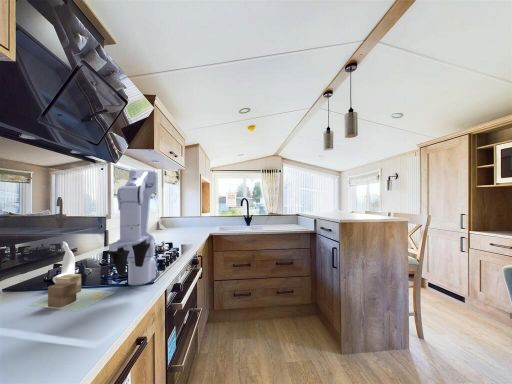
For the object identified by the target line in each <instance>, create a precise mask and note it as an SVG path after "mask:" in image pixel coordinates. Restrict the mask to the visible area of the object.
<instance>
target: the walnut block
mask: <svg viewBox="0 0 512 384" xmlns="http://www.w3.org/2000/svg"><path fill="white" fill-rule="evenodd" d="M76 285H77V282H65V281H64V282H61V283H58V284H55V283H54V284H53V285H50V286H48V287H47V298H48V306H50V307H59V308H62V307H64V306H66V305H68V304H71V303H73V302H75V301H76Z"/></svg>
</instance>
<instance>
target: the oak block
mask: <svg viewBox="0 0 512 384" xmlns="http://www.w3.org/2000/svg"><path fill="white" fill-rule="evenodd" d="M64 281H65V282H77V285H76V293H78V292H80V291H81V289H82V274H79V273H75V274H67V275H64V276H61V277H58V278H56V284H58V283H61V282H64Z"/></svg>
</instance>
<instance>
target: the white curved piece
mask: <svg viewBox="0 0 512 384" xmlns="http://www.w3.org/2000/svg"><path fill="white" fill-rule="evenodd" d="M61 248H63V249H64V251H65V252H64V255H63V259H62V263H61V273H60V274H57V275H56V276H53V278H52V281H53V283H54V285H55V284H56V278H58V277H61V276H64V275H67V274H76V257H75V255H74V253H73V251H72V250H71V249H70V248H69V244H68V243H67V242H66V241H62V246H61Z"/></svg>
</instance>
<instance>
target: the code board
mask: <svg viewBox="0 0 512 384" xmlns="http://www.w3.org/2000/svg"><path fill="white" fill-rule="evenodd" d="M115 293H116V291H110V290H109V291H108V290H99V289H98V290H97V289H96V290H95V289H86V288H81V291H80V292H78V293H76V301H75V302H73V303H71V304H68V305H66V306H64V307H62V308H59V307H50V306H48V297H46V298H44V299H41V300H38V301H37V302H34V303H30V304H28V305H27V306H29V307H37V308H47V309H53V310H55V309H57V310H63V311H72V312H78V311H80V310H82V309H84V308H87V307H89V306H91V305H92V304H95V303H97V302H98V301H100V300H102V299H104V298H105V299H106V298H107V297H109V296H111V295H113V294H115Z"/></svg>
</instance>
